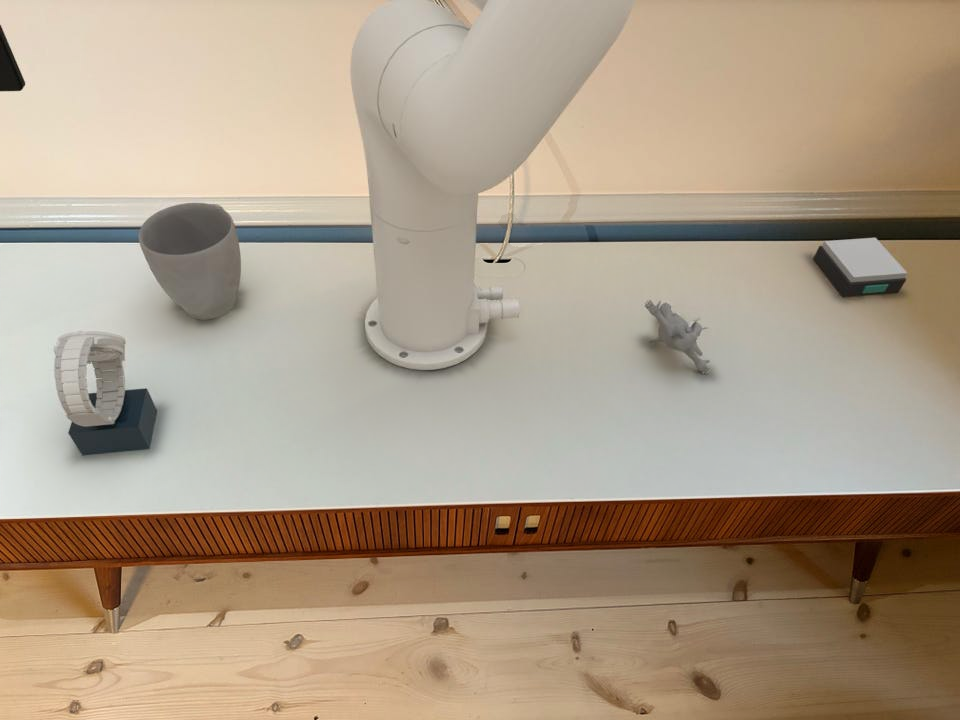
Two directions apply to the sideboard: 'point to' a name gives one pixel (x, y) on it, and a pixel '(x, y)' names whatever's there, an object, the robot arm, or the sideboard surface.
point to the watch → (101, 395)
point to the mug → (194, 257)
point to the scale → (860, 267)
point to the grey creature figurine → (678, 332)
